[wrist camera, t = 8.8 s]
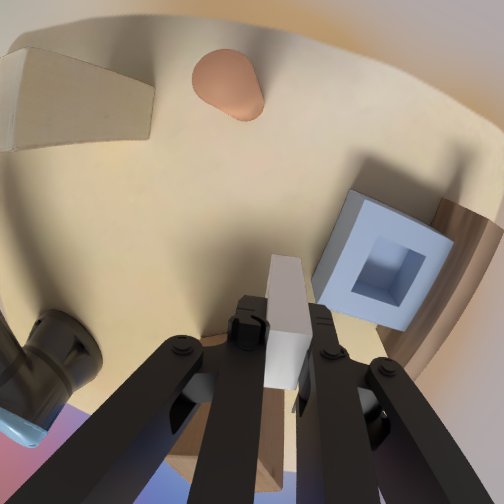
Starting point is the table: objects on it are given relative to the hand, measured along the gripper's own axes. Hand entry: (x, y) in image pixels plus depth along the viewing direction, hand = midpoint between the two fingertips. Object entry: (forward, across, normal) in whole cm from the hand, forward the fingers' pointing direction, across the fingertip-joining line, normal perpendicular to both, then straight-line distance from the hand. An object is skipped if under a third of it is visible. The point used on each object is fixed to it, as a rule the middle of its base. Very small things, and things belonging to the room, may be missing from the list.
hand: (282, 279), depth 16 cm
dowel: (+19, -5, +11) cm, 22 cm away
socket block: (+19, +12, -4) cm, 23 cm away
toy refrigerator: (+19, -20, +10) cm, 29 cm away
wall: (+19, +20, -5) cm, 27 cm away
